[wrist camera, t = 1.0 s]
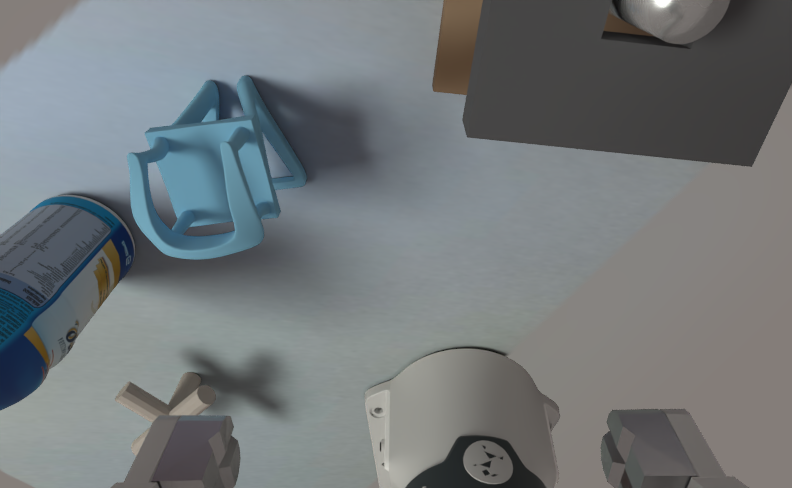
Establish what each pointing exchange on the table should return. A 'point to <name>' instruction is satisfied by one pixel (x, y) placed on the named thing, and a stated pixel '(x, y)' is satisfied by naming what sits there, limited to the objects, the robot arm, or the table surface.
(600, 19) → the collar
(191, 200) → the chair
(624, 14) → the post
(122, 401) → the pipe connector
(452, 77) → the board
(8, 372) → the beverage bottle
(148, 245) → the table surface
